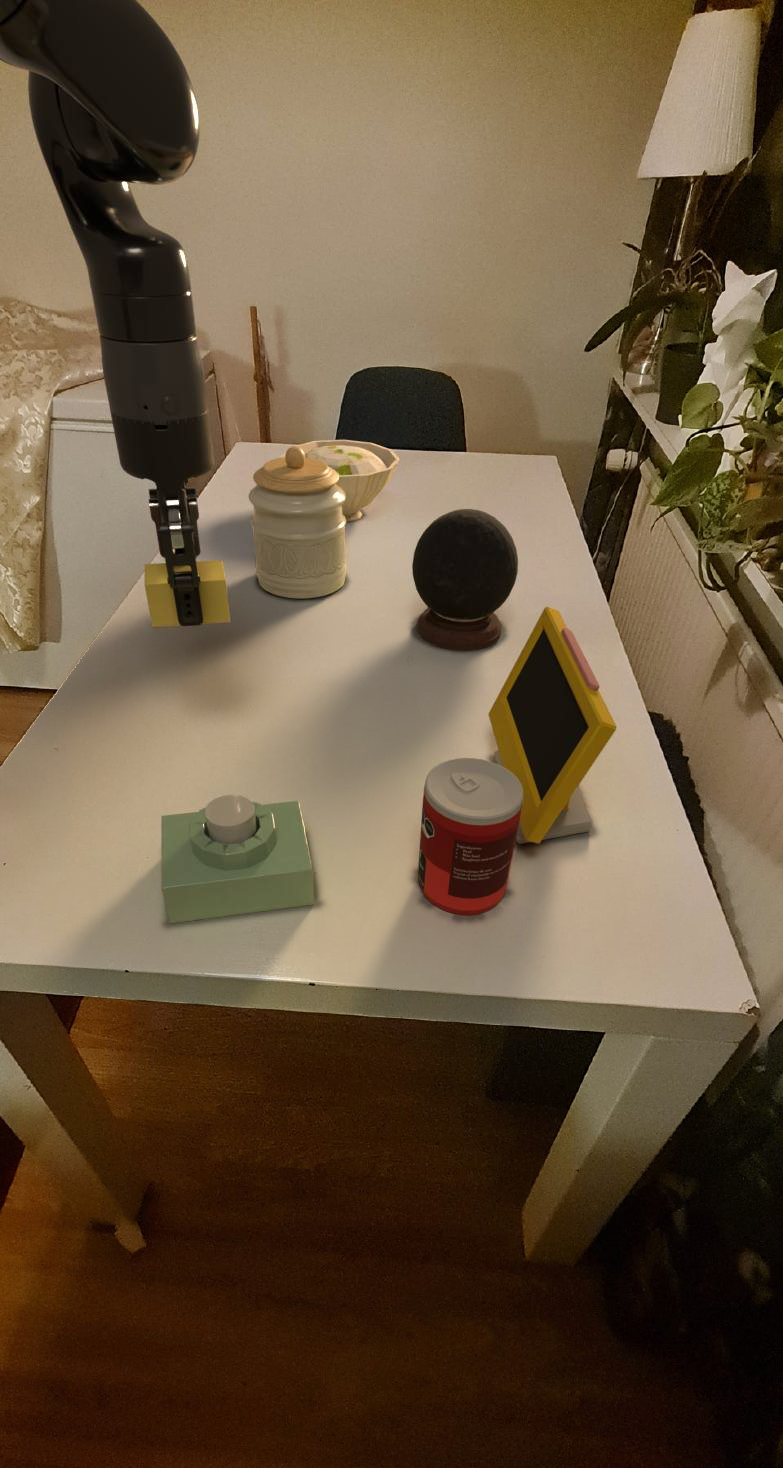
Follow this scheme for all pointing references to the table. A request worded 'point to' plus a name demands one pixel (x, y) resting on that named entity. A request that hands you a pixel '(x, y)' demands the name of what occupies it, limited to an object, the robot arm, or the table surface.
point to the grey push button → (230, 819)
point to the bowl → (355, 469)
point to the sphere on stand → (463, 579)
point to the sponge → (209, 589)
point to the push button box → (235, 865)
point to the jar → (298, 527)
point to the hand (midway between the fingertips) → (190, 610)
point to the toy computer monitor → (550, 729)
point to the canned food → (468, 834)
